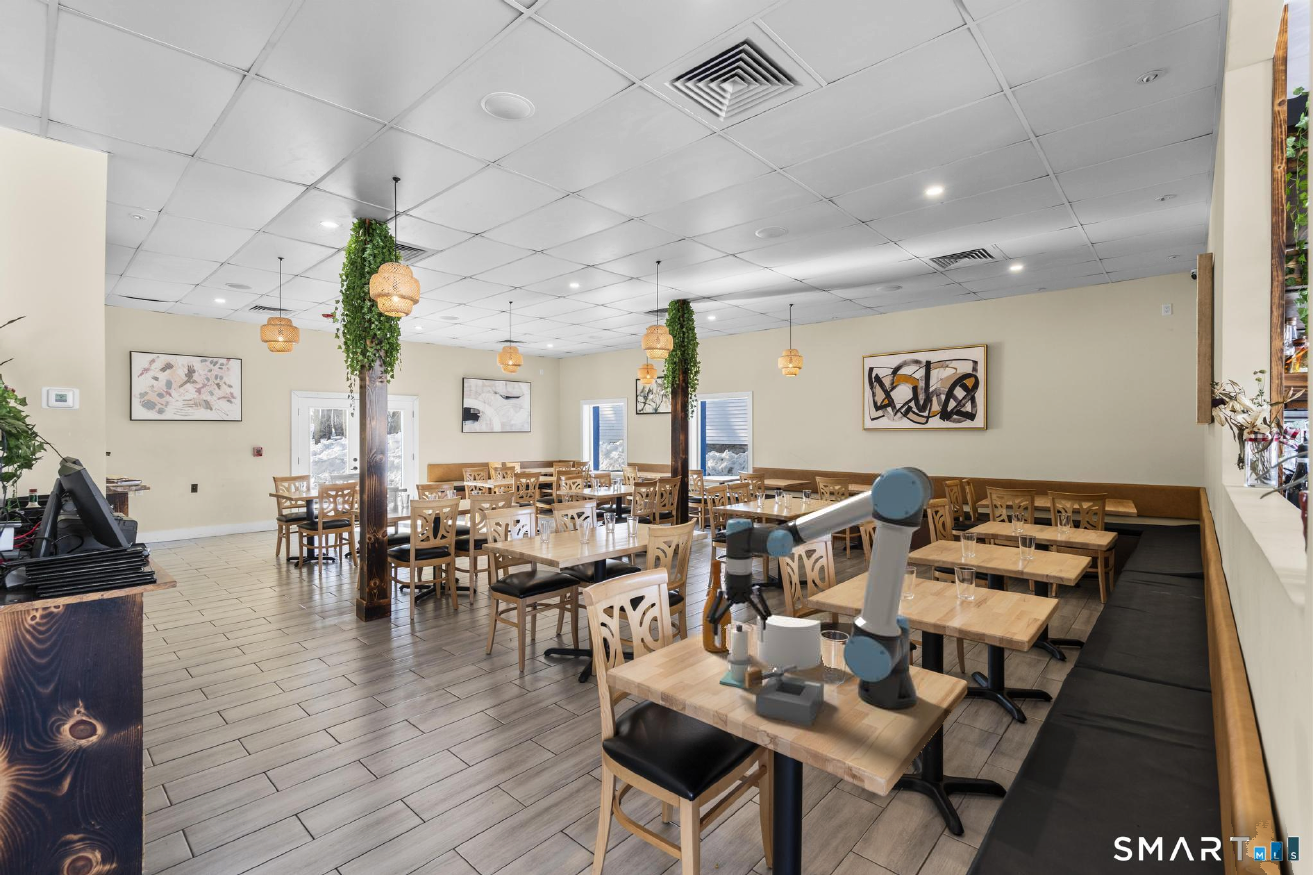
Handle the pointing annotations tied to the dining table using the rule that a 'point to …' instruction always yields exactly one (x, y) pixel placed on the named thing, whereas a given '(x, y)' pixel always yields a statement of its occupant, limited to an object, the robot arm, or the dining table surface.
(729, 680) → the pad
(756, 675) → the clip lever
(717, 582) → the wine bottle
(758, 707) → the socket block
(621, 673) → the dining table surface
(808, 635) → the container
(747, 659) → the plug
